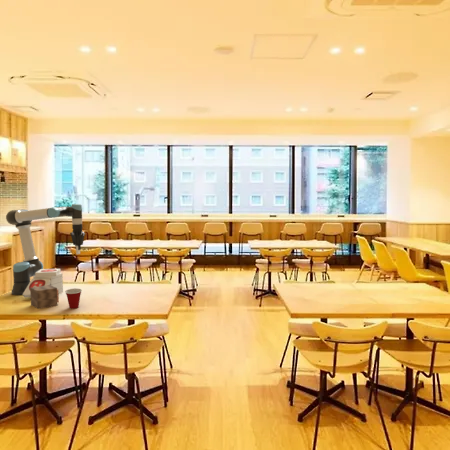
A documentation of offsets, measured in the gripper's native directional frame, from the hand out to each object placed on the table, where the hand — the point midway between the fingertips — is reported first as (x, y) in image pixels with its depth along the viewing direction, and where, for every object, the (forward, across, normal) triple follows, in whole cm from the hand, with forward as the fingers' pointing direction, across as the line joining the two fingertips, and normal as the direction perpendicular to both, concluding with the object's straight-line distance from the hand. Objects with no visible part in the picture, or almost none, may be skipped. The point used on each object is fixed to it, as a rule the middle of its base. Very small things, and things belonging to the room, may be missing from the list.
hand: (78, 253), depth 345 cm
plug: (+28, -7, +42) cm, 51 cm away
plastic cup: (+30, -30, +42) cm, 60 cm away
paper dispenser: (+30, +15, +21) cm, 39 cm away
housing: (+29, -6, +44) cm, 53 cm away
